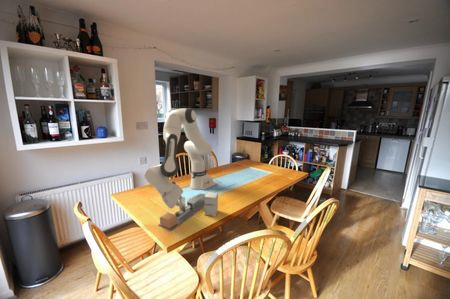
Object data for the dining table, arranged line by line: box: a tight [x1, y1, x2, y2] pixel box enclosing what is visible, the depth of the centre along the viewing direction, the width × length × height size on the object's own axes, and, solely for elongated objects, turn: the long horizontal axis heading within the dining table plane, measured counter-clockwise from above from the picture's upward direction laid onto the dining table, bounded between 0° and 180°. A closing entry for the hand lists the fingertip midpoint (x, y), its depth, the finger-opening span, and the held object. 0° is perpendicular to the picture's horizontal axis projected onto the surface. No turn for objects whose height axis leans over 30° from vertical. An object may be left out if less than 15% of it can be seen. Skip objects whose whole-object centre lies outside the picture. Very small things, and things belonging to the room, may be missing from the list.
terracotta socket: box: [159, 212, 178, 228], centre depth 112 cm, size 6×8×5 cm
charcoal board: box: [158, 203, 205, 232], centre depth 125 cm, size 37×10×1 cm, turn 150°
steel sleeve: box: [186, 193, 206, 211], centre depth 133 cm, size 14×5×5 cm, turn 150°
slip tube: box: [174, 196, 193, 217], centre depth 125 cm, size 21×4×10 cm, turn 150°
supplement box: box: [204, 191, 219, 217], centre depth 125 cm, size 7×7×13 cm
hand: (183, 204), depth 121 cm, fingers closed on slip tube, 3 cm apart
